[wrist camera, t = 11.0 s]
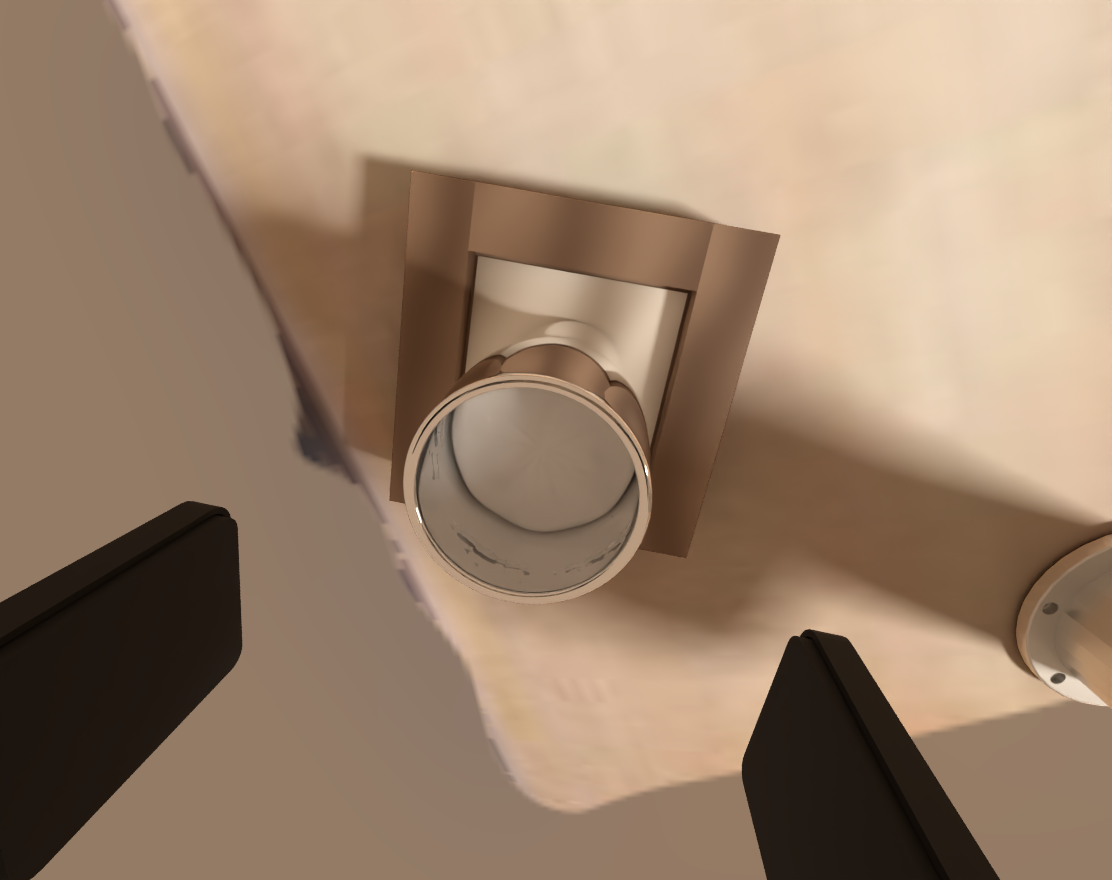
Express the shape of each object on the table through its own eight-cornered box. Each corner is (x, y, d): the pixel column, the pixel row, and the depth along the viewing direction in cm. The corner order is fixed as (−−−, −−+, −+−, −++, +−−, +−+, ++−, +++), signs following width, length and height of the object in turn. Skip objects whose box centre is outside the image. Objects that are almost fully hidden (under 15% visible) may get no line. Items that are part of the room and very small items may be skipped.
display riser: (753, 238, 28) (780, 234, 23) (675, 520, 33) (686, 558, 29) (440, 184, 28) (411, 170, 24) (416, 470, 34) (389, 500, 29)
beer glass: (514, 447, 29) (427, 620, 15) (490, 321, 27) (363, 386, 13) (639, 432, 28) (672, 602, 14) (624, 301, 26) (646, 346, 12)
